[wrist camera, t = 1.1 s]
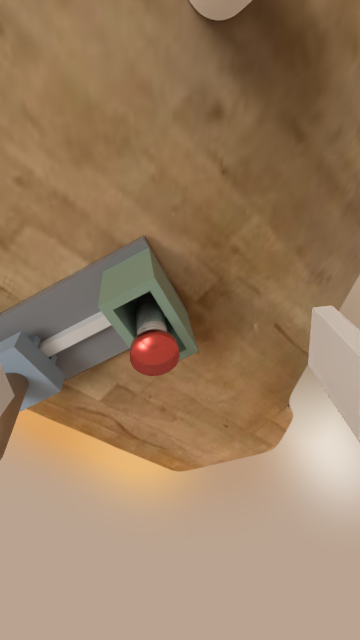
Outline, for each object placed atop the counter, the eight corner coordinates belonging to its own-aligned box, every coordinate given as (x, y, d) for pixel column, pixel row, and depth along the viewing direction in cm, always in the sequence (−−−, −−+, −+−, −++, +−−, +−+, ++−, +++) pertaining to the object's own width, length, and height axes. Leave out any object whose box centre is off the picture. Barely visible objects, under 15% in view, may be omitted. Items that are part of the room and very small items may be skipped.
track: (-33, 331, 39) (-73, 385, 31) (143, 235, 36) (148, 268, 28) (33, 389, 46) (14, 446, 38) (188, 312, 42) (202, 357, 34)
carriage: (-22, 348, 39) (-94, 460, 26) (25, 323, 38) (-26, 426, 25) (23, 388, 43) (-19, 500, 30) (67, 366, 42) (41, 473, 29)
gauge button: (121, 300, 35) (120, 351, 27) (156, 281, 34) (165, 328, 27) (141, 328, 37) (145, 382, 30) (174, 311, 37) (187, 362, 29)
